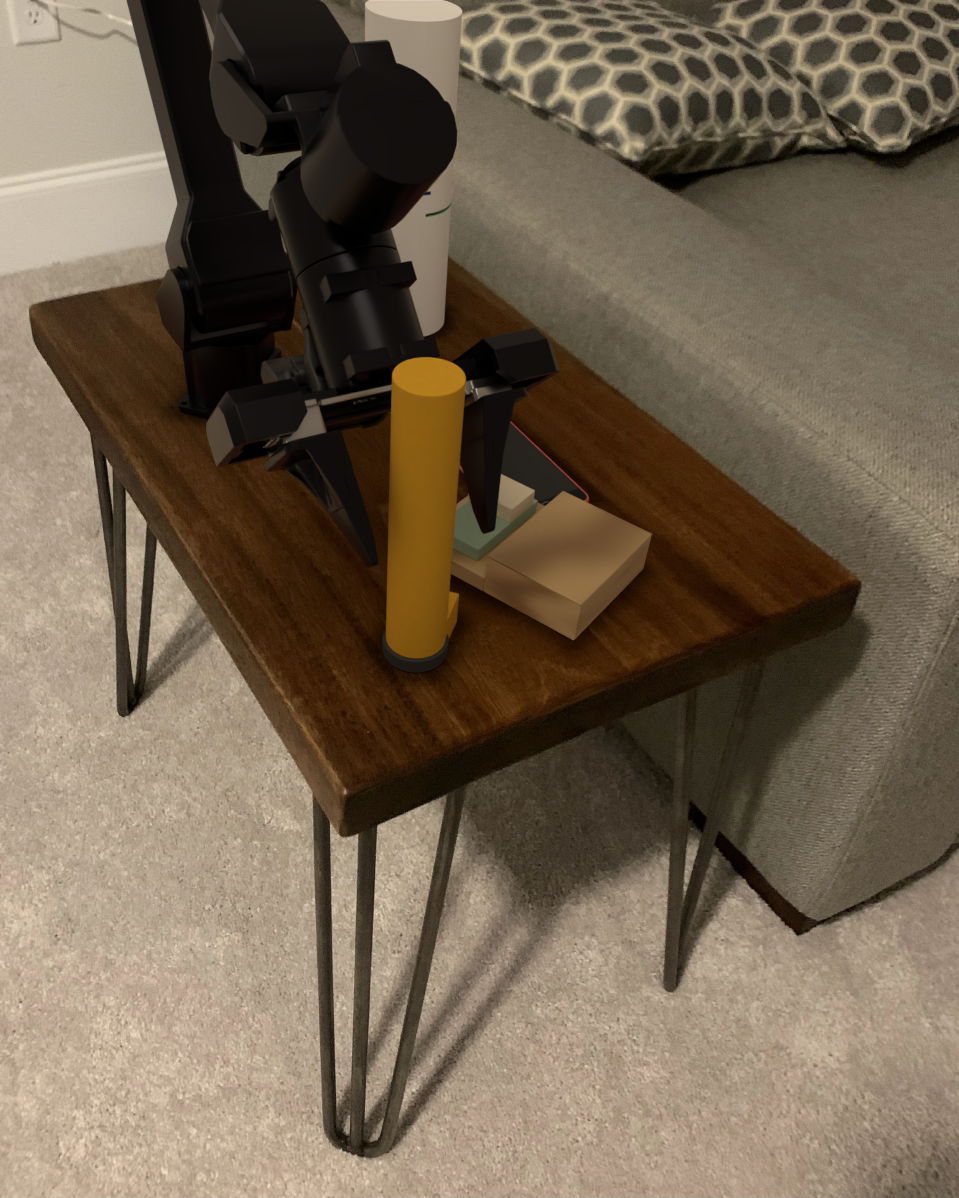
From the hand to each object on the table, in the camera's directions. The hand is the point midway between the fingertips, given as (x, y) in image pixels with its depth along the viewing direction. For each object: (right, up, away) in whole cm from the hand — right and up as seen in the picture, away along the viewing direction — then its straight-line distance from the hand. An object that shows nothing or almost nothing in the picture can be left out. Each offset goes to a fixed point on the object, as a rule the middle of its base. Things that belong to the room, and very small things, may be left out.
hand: (432, 549), depth 56 cm
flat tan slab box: (+6, 0, +14) cm, 15 cm away
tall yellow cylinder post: (-1, -6, +7) cm, 9 cm away
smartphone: (+4, +7, +22) cm, 24 cm away
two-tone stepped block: (+3, +2, +15) cm, 15 cm away
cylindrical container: (-4, +22, +37) cm, 44 cm away
